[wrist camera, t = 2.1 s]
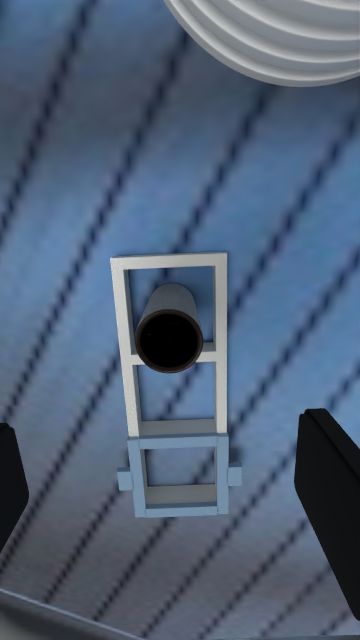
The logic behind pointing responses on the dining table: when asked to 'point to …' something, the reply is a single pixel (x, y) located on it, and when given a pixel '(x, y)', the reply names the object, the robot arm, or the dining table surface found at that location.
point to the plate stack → (278, 37)
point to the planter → (169, 330)
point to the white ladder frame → (175, 431)
